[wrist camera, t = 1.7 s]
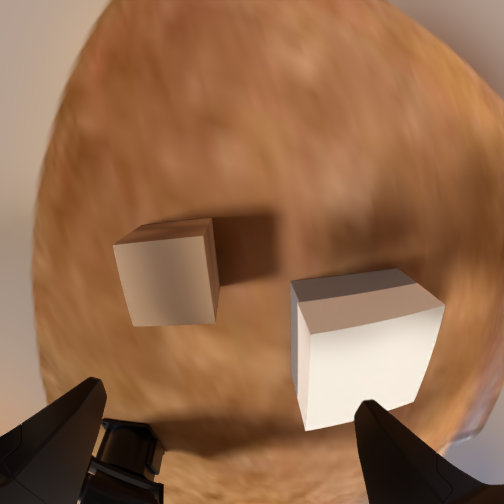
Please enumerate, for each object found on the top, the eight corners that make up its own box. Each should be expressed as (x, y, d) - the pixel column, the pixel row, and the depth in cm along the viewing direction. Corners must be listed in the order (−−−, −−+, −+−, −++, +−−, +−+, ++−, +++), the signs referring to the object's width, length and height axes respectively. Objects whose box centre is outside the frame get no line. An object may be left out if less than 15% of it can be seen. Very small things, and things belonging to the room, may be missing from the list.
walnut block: (154, 290, 20) (133, 326, 15) (141, 225, 18) (112, 245, 13) (220, 286, 20) (215, 323, 15) (211, 217, 18) (203, 235, 14)
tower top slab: (297, 398, 20) (305, 431, 16) (297, 302, 17) (310, 334, 14) (396, 375, 20) (413, 401, 17) (417, 282, 17) (445, 304, 14)
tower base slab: (290, 370, 23) (297, 397, 20) (289, 279, 20) (298, 301, 17) (381, 353, 23) (396, 375, 20) (395, 266, 20) (418, 283, 17)
